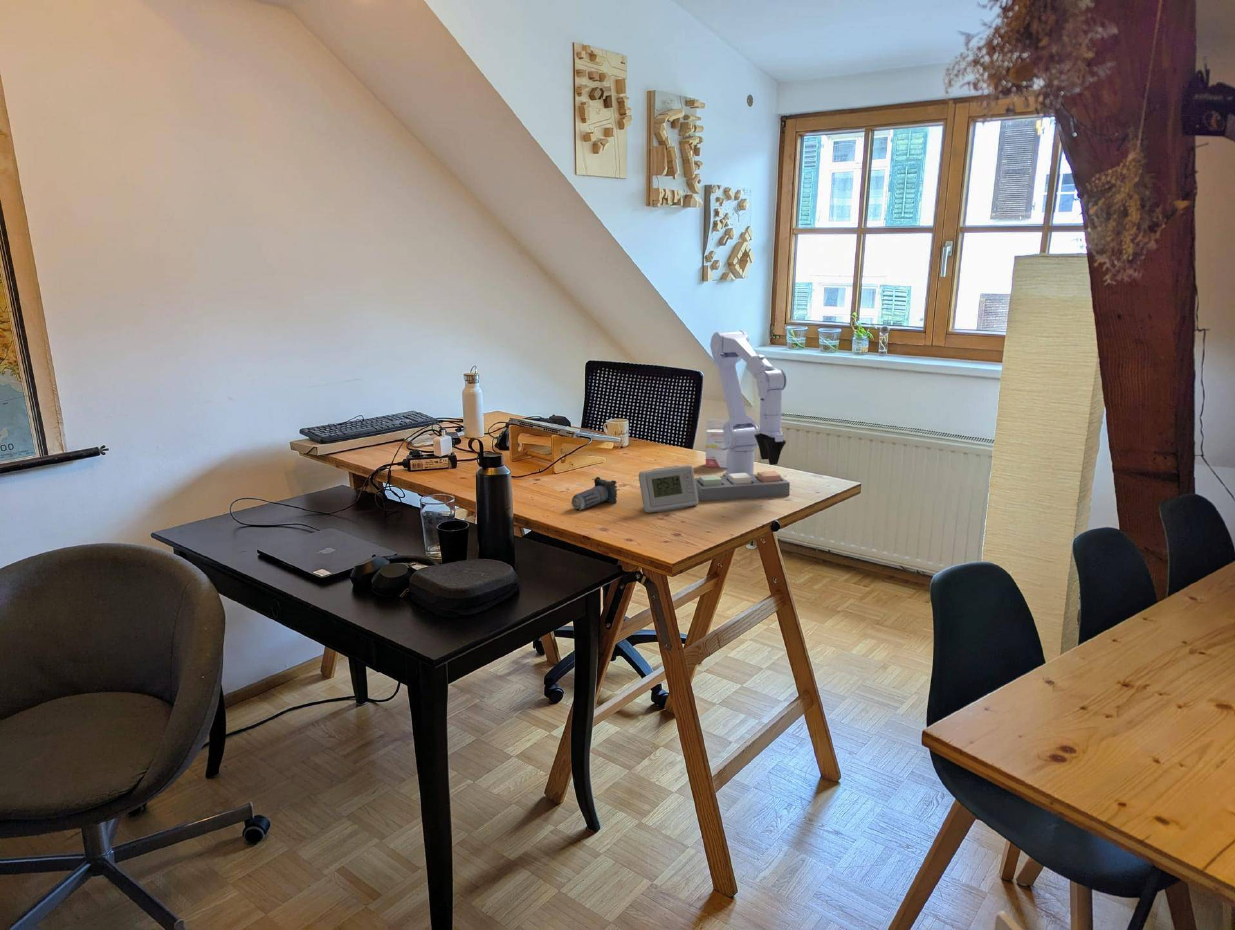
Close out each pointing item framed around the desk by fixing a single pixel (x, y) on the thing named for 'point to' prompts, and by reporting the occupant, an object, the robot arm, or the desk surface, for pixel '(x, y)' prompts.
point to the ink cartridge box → (715, 445)
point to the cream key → (739, 478)
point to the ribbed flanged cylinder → (596, 494)
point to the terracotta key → (768, 476)
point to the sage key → (710, 480)
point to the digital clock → (668, 488)
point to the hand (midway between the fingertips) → (769, 461)
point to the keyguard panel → (742, 489)
